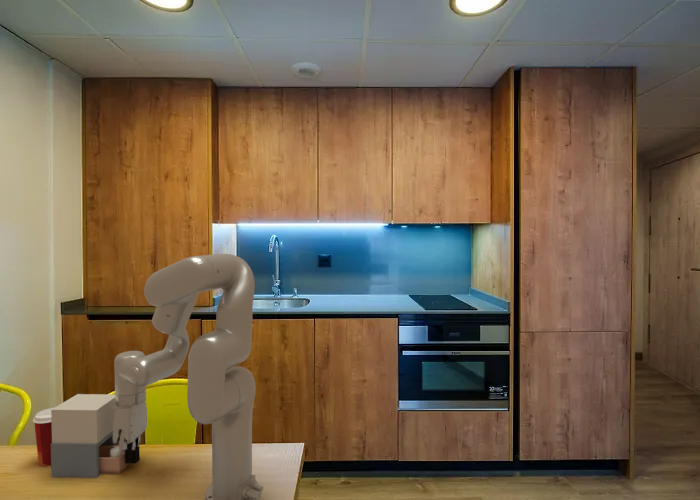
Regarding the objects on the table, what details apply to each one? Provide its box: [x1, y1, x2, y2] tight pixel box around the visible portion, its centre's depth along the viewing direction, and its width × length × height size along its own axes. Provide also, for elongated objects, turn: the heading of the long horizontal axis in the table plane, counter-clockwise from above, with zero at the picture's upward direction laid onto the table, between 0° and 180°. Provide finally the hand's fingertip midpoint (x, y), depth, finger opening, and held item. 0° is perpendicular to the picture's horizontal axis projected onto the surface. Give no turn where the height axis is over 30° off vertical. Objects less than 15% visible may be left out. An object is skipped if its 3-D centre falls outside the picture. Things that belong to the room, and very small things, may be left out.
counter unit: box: [50, 393, 120, 479], centre depth 114 cm, size 12×11×18 cm
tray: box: [98, 445, 129, 475], centre depth 114 cm, size 14×7×5 cm, turn 90°
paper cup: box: [32, 407, 54, 467], centre depth 116 cm, size 8×8×14 cm
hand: (132, 461), depth 115 cm, fingers closed
